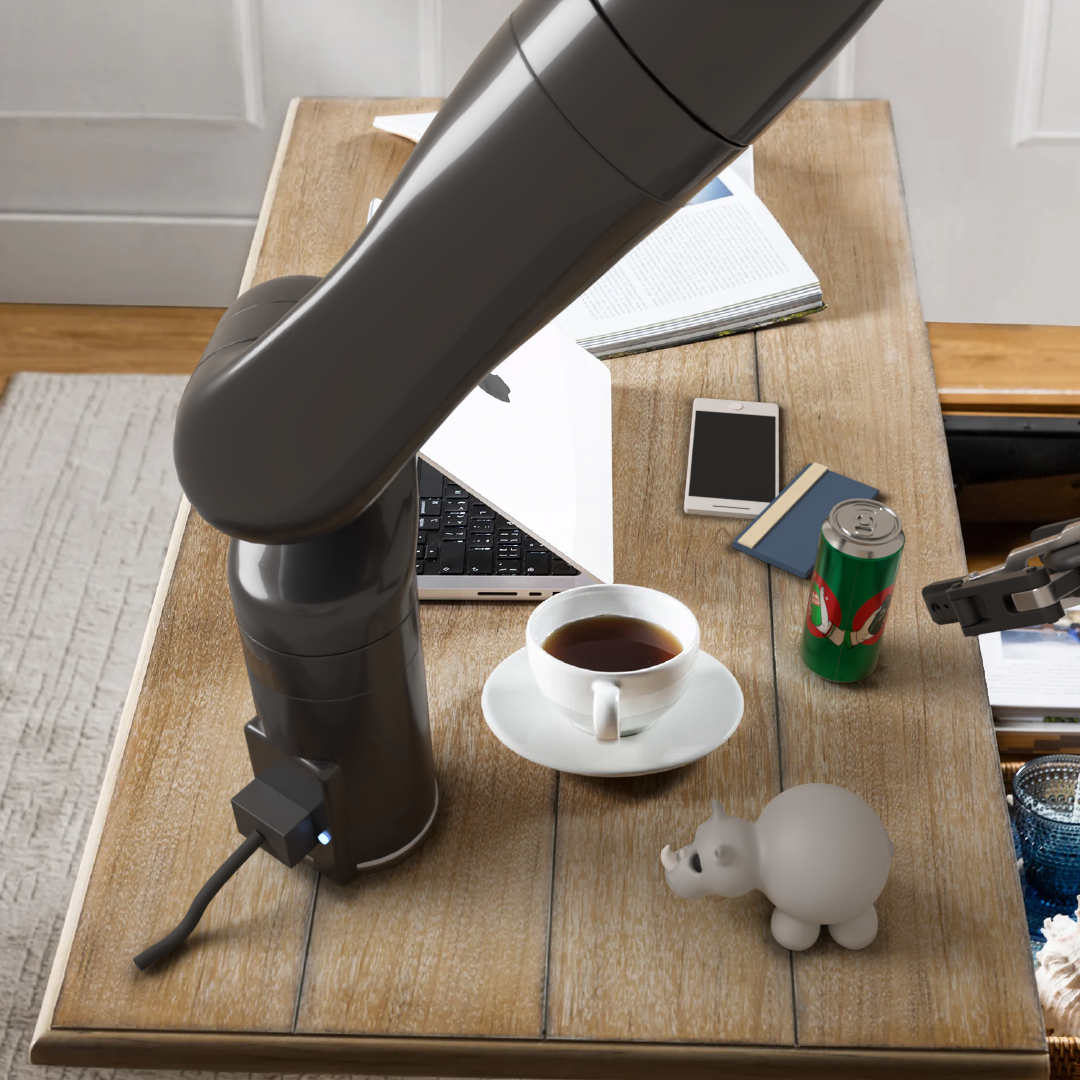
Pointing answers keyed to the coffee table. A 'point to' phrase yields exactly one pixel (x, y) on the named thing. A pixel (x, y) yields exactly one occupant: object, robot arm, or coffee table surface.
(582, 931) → the coffee table surface
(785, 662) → the coffee table surface
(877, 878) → the toy rhinoceros
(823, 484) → the notebook
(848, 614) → the soda can
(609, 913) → the coffee table surface
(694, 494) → the smartphone
